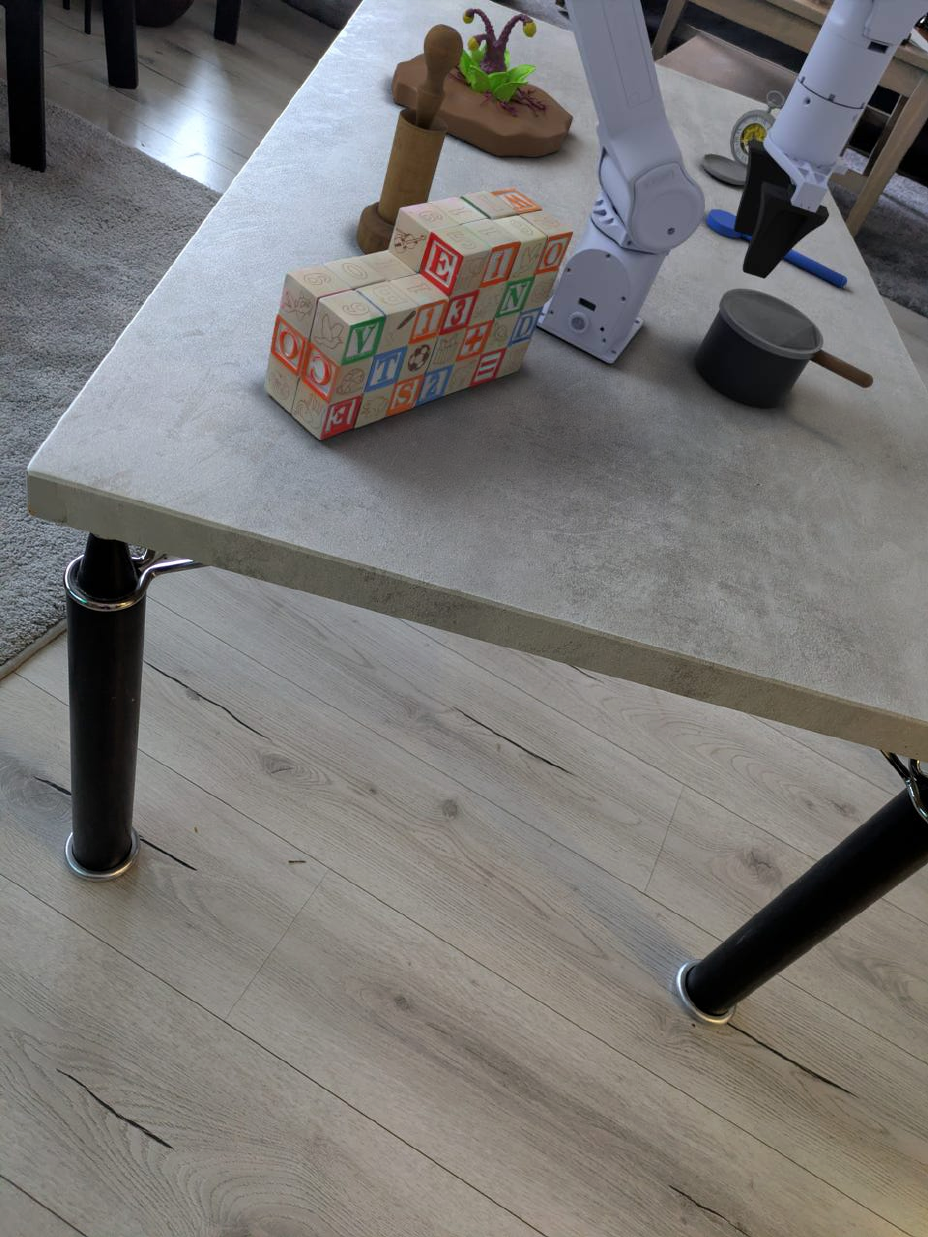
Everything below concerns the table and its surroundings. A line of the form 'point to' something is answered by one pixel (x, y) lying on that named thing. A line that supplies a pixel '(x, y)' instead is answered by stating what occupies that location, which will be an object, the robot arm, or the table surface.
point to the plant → (491, 96)
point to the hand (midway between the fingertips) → (748, 252)
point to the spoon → (725, 226)
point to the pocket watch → (742, 144)
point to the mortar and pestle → (413, 144)
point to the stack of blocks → (415, 311)
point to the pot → (763, 350)
